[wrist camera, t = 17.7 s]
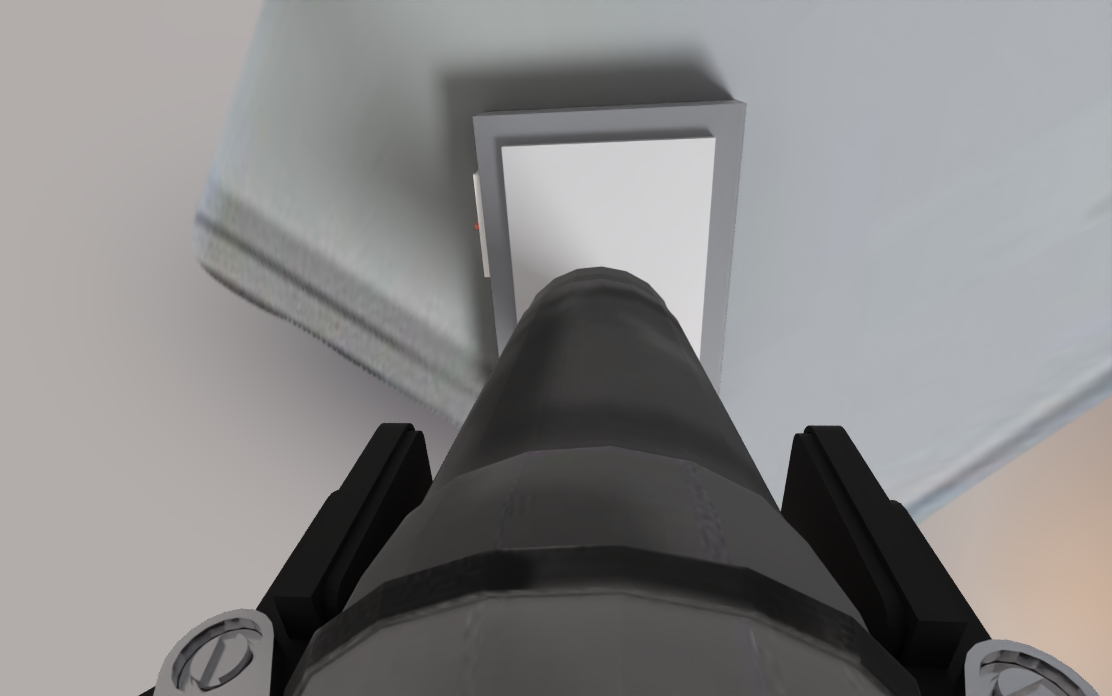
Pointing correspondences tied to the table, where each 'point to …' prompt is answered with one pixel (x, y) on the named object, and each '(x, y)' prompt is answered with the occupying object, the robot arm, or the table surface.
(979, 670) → the robot arm
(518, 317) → the kitchen scale
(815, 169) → the table surface
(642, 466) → the beverage cup
